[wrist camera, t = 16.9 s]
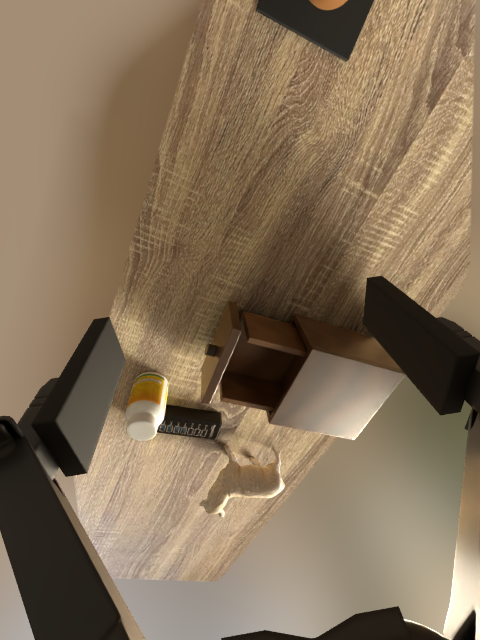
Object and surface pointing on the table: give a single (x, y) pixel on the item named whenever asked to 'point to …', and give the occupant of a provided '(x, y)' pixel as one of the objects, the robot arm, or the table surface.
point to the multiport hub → (190, 422)
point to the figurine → (243, 482)
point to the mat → (321, 22)
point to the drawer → (251, 359)
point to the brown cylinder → (327, 4)
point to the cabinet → (336, 381)
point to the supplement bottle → (146, 406)
